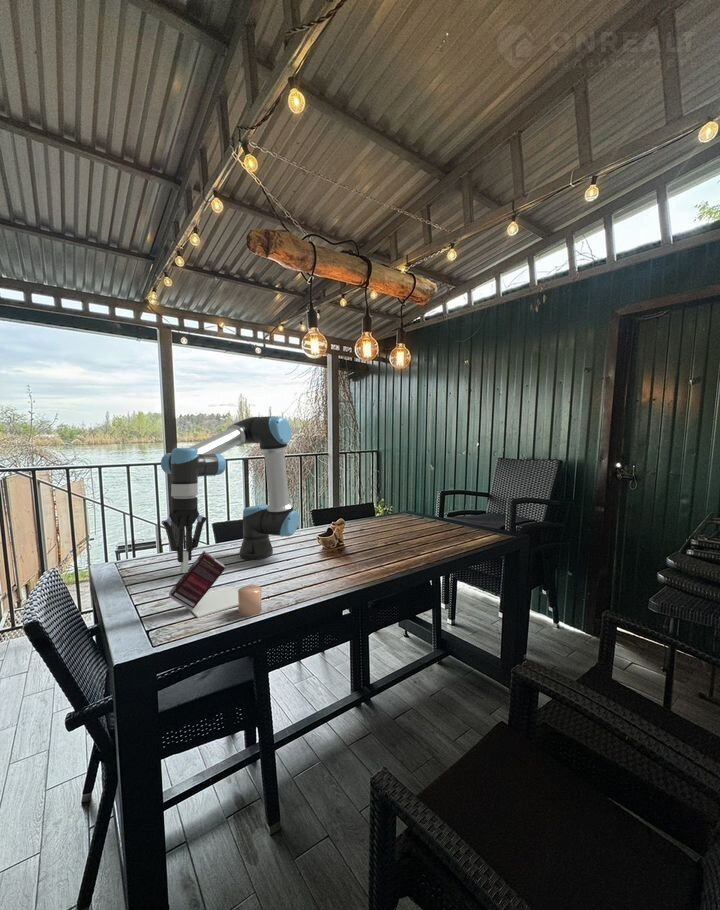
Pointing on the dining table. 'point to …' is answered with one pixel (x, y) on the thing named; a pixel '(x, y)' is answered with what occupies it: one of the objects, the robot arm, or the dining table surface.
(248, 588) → the peach pillar candle
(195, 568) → the supplement box
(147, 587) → the dining table surface
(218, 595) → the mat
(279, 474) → the robot arm
